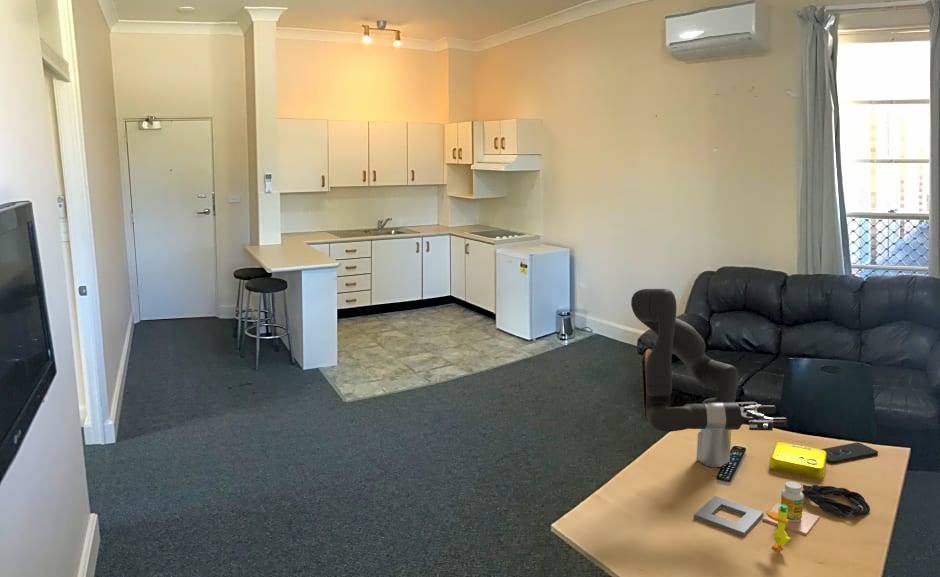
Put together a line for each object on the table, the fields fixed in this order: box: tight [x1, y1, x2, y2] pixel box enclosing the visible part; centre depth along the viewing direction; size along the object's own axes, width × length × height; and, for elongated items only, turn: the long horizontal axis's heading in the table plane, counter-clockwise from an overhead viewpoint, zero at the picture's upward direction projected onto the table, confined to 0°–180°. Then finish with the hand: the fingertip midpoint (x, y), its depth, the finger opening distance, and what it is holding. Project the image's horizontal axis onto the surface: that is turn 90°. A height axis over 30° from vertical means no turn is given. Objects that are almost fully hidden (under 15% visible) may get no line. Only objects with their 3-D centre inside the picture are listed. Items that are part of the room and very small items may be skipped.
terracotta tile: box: [762, 502, 820, 536], centre depth 181 cm, size 11×11×1 cm
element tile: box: [769, 441, 827, 481], centre depth 212 cm, size 15×15×5 cm
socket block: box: [693, 495, 764, 538], centre depth 183 cm, size 14×14×1 cm
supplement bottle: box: [780, 481, 805, 522], centre depth 180 cm, size 5×5×10 cm
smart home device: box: [820, 441, 879, 465], centre depth 219 cm, size 8×2×20 cm
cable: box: [801, 484, 871, 518], centre depth 189 cm, size 17×14×4 cm
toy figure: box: [765, 504, 792, 552], centre depth 167 cm, size 7×4×12 cm, turn 37°
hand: (780, 415), depth 185 cm, fingers open, 8 cm apart
